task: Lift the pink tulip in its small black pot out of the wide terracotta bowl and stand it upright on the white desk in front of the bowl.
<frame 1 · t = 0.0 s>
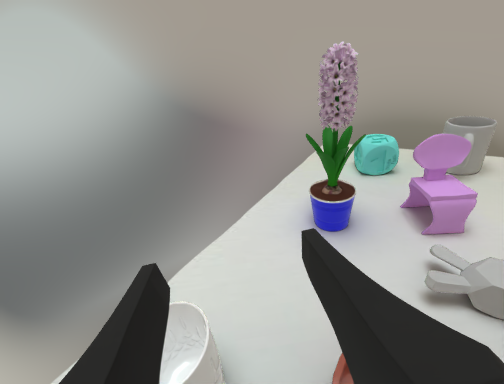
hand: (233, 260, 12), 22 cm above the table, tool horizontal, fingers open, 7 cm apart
toy chair: (429, 220, 43), on the table
hyacinth: (330, 219, 47), on the table
mug: (456, 170, 55), on the table
decorative dice: (372, 169, 62), on the table
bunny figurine: (497, 305, 29), on the table
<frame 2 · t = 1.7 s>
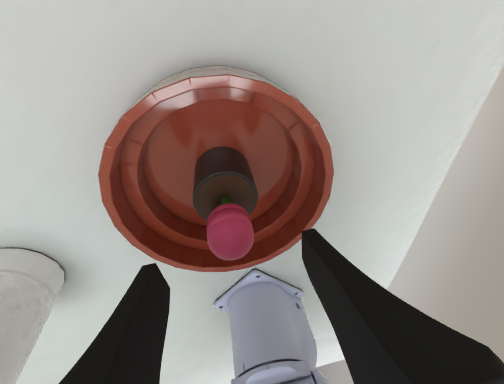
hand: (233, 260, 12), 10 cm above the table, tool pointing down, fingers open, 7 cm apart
white cup: (25, 270, 22), on the table
bowl: (222, 168, 20), on the table
tulip: (222, 171, 19), point 1 cm above the table, touching bowl
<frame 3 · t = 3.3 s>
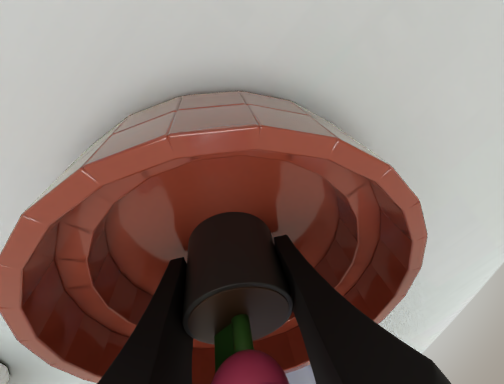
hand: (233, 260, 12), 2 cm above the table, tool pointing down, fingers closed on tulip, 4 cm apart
bowl: (230, 235, 13), on the table
tulip: (230, 243, 13), point 1 cm above the table, touching bowl, gripper
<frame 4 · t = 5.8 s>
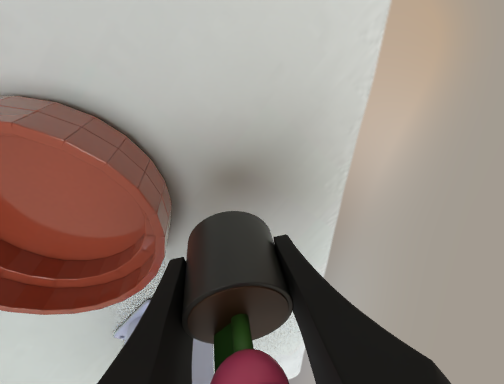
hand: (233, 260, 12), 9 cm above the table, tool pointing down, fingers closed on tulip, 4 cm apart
bowl: (67, 200, 18), on the table
tulip: (230, 243, 13), point 8 cm above the table, touching gripper
when the fingers open (1 cm above the table, at t = 8.1 s): tulip stays where it is, on the table.
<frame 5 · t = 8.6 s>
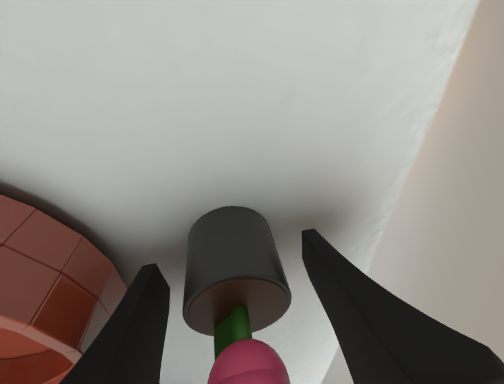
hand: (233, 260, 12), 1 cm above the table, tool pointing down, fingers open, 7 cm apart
tulip: (230, 238, 13), on the table
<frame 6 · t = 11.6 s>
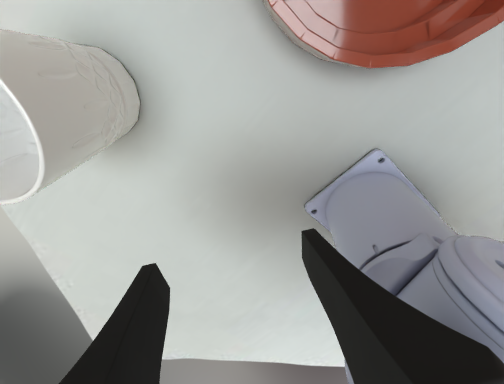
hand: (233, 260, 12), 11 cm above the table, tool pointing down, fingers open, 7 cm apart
white cup: (100, 94, 19), on the table
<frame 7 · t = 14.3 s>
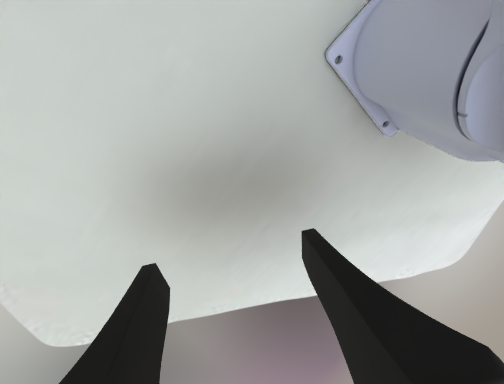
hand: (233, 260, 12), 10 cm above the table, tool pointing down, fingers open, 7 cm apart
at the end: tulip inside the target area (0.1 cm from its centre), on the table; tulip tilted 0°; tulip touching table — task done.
